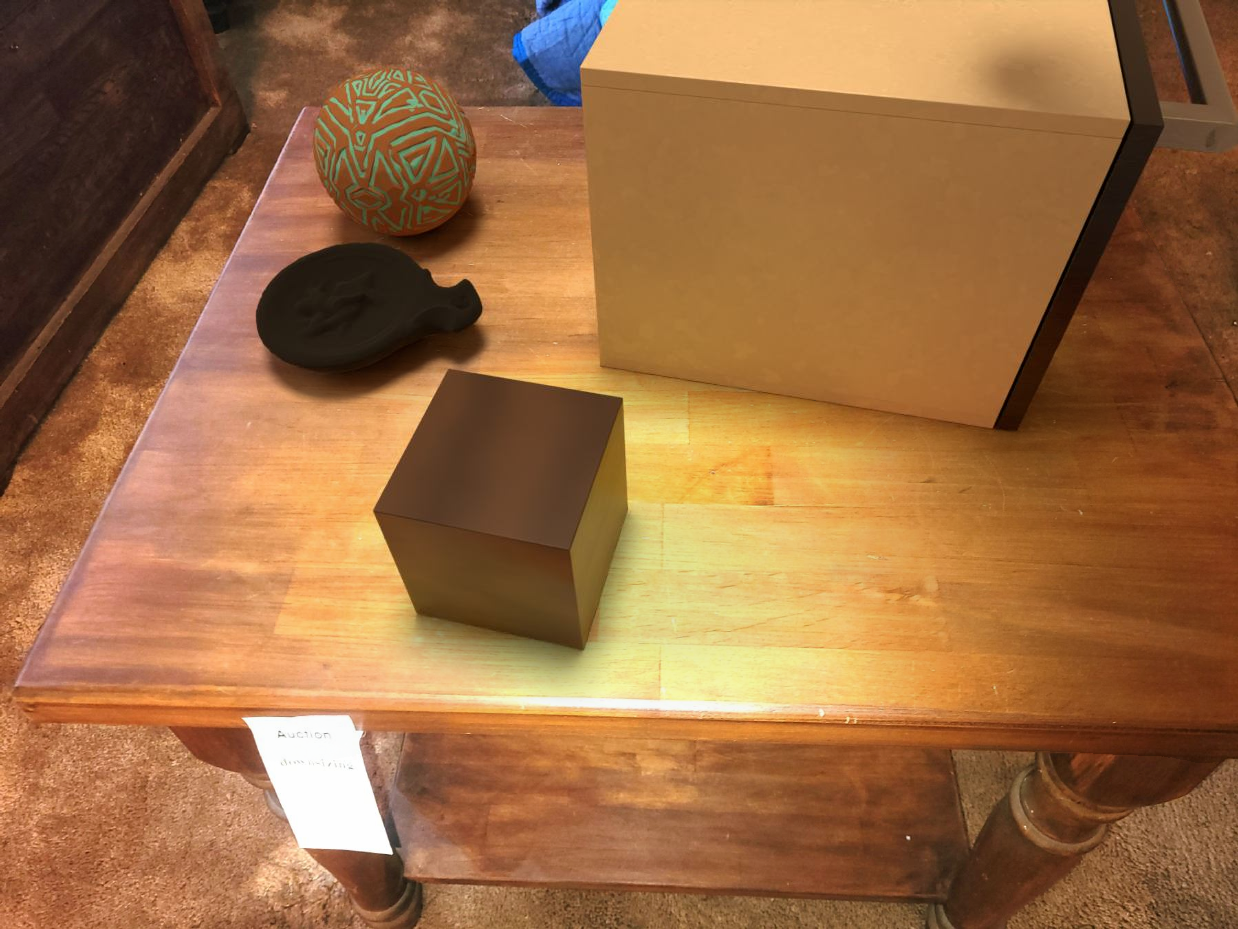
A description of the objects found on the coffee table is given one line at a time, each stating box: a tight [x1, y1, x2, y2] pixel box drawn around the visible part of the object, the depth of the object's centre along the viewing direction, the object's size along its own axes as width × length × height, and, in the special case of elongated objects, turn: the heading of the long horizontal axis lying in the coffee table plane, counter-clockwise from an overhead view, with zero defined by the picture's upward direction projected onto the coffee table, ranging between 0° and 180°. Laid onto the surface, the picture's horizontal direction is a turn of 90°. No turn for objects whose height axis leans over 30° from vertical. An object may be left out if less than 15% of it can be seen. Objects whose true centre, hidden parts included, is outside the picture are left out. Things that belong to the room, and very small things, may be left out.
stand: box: [372, 368, 629, 651], centre depth 58 cm, size 12×12×12 cm
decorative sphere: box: [312, 66, 478, 236], centre depth 83 cm, size 15×15×15 cm
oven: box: [579, 0, 1131, 429], centre depth 74 cm, size 32×40×26 cm
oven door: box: [995, 0, 1238, 432], centre depth 70 cm, size 8×40×26 cm, turn 165°
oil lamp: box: [255, 241, 484, 374], centre depth 76 cm, size 15×20×5 cm
